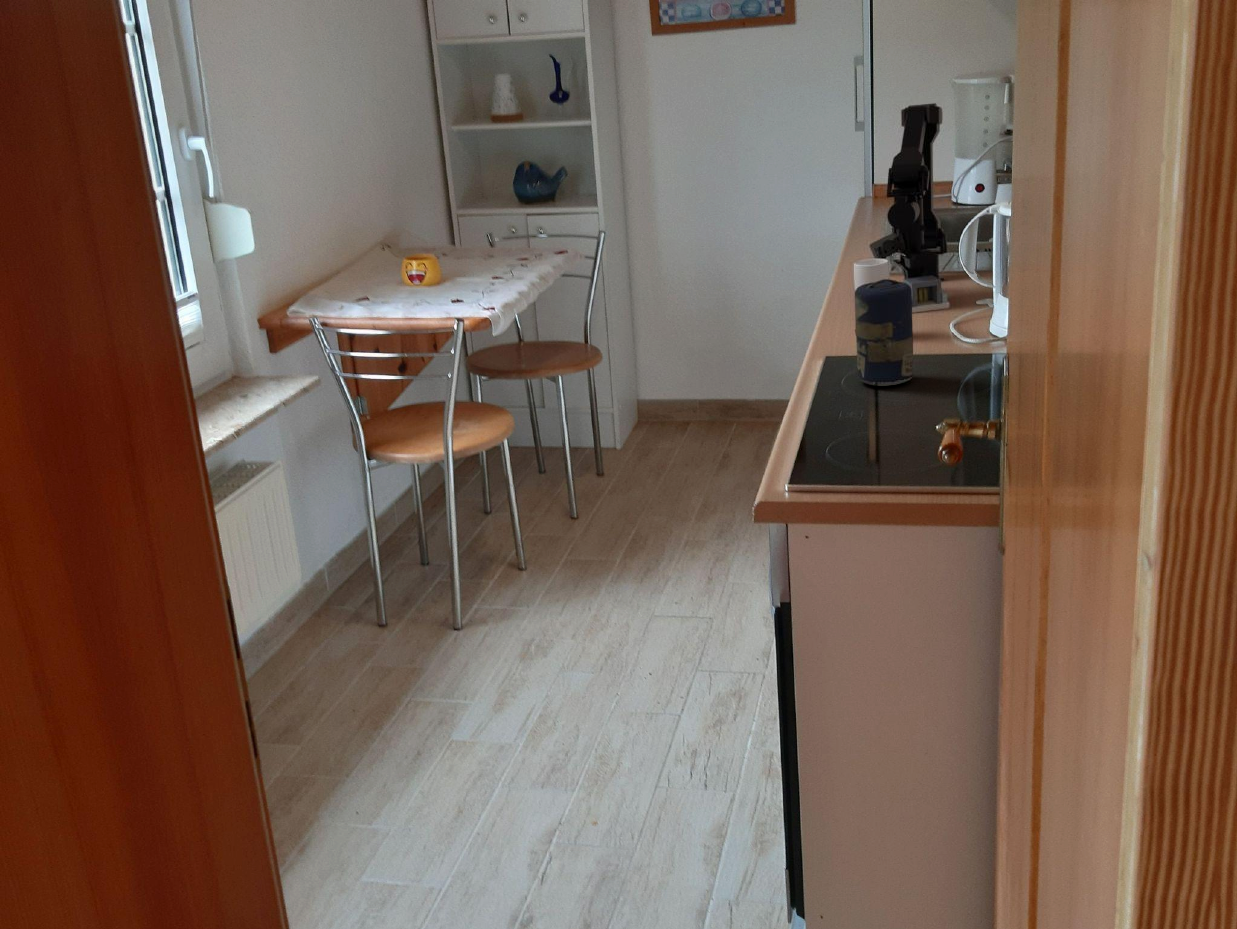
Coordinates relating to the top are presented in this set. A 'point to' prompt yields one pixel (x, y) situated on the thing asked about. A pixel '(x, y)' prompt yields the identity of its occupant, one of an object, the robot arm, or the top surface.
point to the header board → (929, 301)
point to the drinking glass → (870, 271)
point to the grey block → (926, 281)
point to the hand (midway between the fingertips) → (911, 292)
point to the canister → (884, 331)
